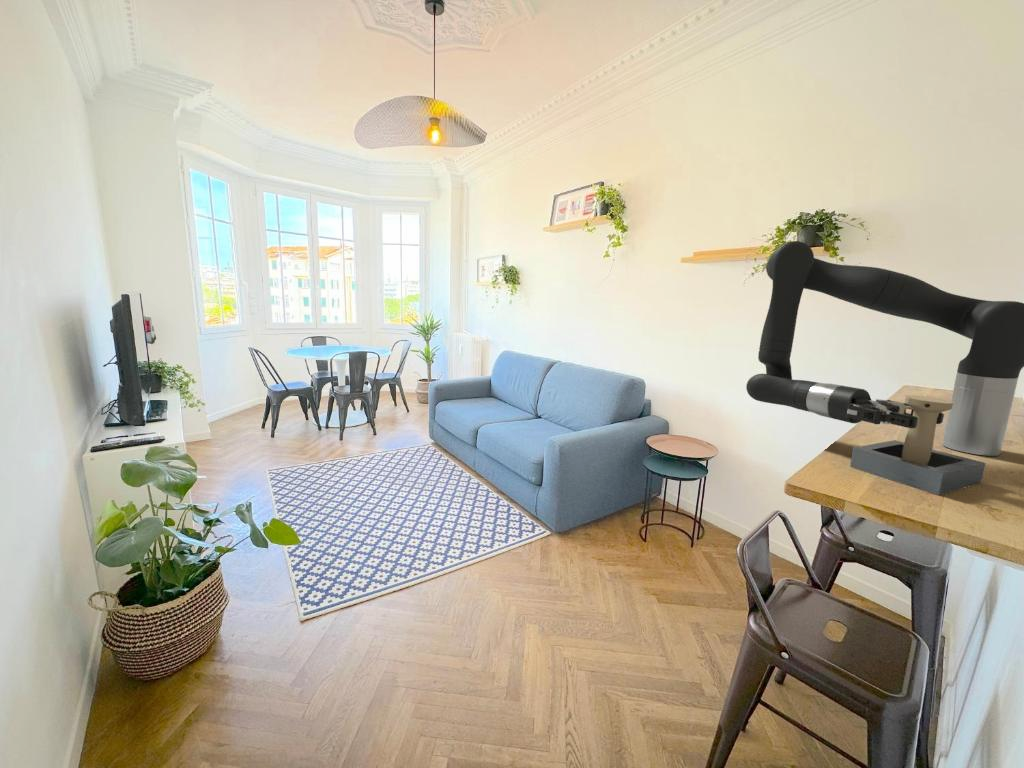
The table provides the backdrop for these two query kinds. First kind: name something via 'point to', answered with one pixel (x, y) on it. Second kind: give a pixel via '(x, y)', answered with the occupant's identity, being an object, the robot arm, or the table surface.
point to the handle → (923, 427)
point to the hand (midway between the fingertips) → (929, 420)
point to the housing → (918, 468)
